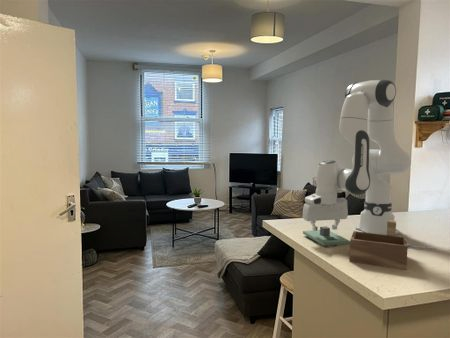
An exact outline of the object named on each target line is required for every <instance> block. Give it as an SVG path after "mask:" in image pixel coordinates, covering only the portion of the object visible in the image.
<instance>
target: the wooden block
mask: <svg viewBox="0 0 450 338" xmlns="http://www.w3.org/2000/svg"><path fill="white" fill-rule="evenodd" d="M396 229H397V220H394V221H392V220H388V221H387V235H391V236H397V234H396Z"/></svg>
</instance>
